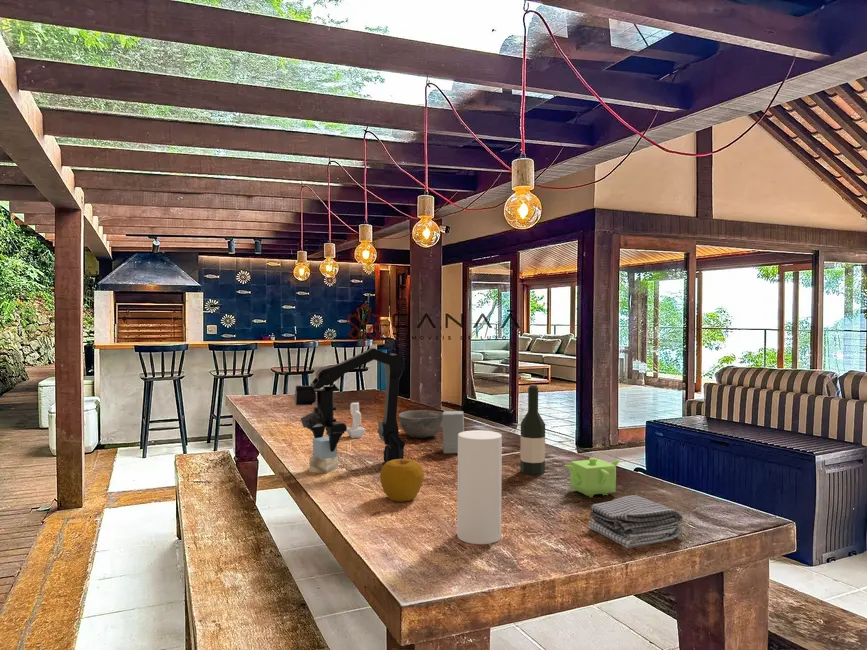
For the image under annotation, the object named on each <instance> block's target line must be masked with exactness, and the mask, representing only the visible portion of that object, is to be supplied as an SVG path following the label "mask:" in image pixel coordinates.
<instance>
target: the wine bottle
mask: <svg viewBox="0 0 867 650" xmlns="http://www.w3.org/2000/svg"><path fill="white" fill-rule="evenodd" d="M519 448H520V455H519V456H520V459H519V462H520V463H519V464H520V470H519V471H520V473H522V474H523V475H530V476H542V475H544V474H545V473H546V423H545V421H544V420H543V417H542V416H541V414H540V413H539V387H538V385H537V384H529V387H527V412H526V414H525V415H524V417H523V419H522V421H521V422H520V447H519Z"/></svg>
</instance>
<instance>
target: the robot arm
mask: <svg viewBox="0 0 867 650" xmlns="http://www.w3.org/2000/svg"><path fill="white" fill-rule="evenodd" d="M371 361H377V362H379V363H381V364H384V370H385V374H386V389H385V390H386V391H385V403H384V413H383V415H384V416H383V418H382V421H378V423H377V424H378V429H377V434H378V437H379V439H380V440H381V441H383V443H384V445H385V446H384V449H383V462H381V464H382V465H384V464H385V463H386V462H388V461H390V460H394V459H405V453H404V451H405V450H404V449H405V445H406V442H405V441H404V440H403V439H402V438H401V437H400V430H399V425H398V422H397V414H398V401H399V398H398V397H399V388H400V387H399V386H400V379H401V377H402V374H403V372H404V368H405V358H404V357H403V356H402V355H401V354H397V353H393V352H392V353H387V352H384V351H381V350H379V349H377V348H374V347H370V348H368V349H367V350H365V351H362V352H360V353H359V354H357V355H354V356H352V357H350V358H348V359H346V360H344V361H342V362H339V363H335V364H331V365H327V366H324V367H320V368H318V370H316V374H315V378H314V379H313V380H312V382H311V383H310V384H309V385H295V390H294V395H293V397H294V406H313V403H316V406H314V407H313V412H311V413H308V414H307V415H304V416H302V417H301V418H300V421H301V424H302V426H303V428H306V429H308V430H310V431H311V432H312V435H313V439H314V438H321V437H324V433H325V435H327V436H328V437H329V443H330V451H331V452H333V451H334V450H335V448H336V446H337V447H338V443H339V442H340V440H341V437H342V436H343V434H345V432H347V428H348V426H347V424H346V423H345V422H341V421H337V419H336V418H334V416H335V415H334V414H335V413H334V412H335V411H336V410H337V406H335V404H334V403H335V402H334V401H335V397H334V395H335V392H340V391H341V390H340V388H338V386H337V385H336V384H335V382H337V381H338V380H339V379H340V378H341V377H342V376H344V375H345V374H347V373H349V372H351V371H353V370H355V369H358V368H360V367H362V366H363V365H365V364H369V363H370V362H371ZM325 431H326V432H325Z"/></svg>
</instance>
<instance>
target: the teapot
mask: <svg viewBox="0 0 867 650" xmlns="http://www.w3.org/2000/svg"><path fill="white" fill-rule="evenodd" d="M620 462H621V460H620V459H615V460H613V461H612V462H611V463H610V462H608V461H605V460H602V459H600V458H596V457H588V459H584V460H575V461H574V460H572V461H570V462H569V464H564V467H566V468H567V469H568V471H569V487H570V488H571V489H573V490H574V491H578V493H581V494H583V495H585V496H586V497H587V496H589V497H588V498H594V497H595V495H601V494H602V495H601V496H604V495H607V496H609V493H610V494H611V493H616V492H617V486H616V484H617V465H618V463H620ZM593 496H594V497H593Z"/></svg>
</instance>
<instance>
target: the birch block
mask: <svg viewBox="0 0 867 650" xmlns="http://www.w3.org/2000/svg"><path fill="white" fill-rule="evenodd" d="M308 462H309V468H308V469H309V470H308V471H309V473H310V472H311V473H318V474H325V475H327V474H329V472H330V473H332V472H334V471H337V470H339V454H337V457H331V458H326V459H320V458H317V457H314V456H313V455H312V456H310V457H309V461H308Z"/></svg>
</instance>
